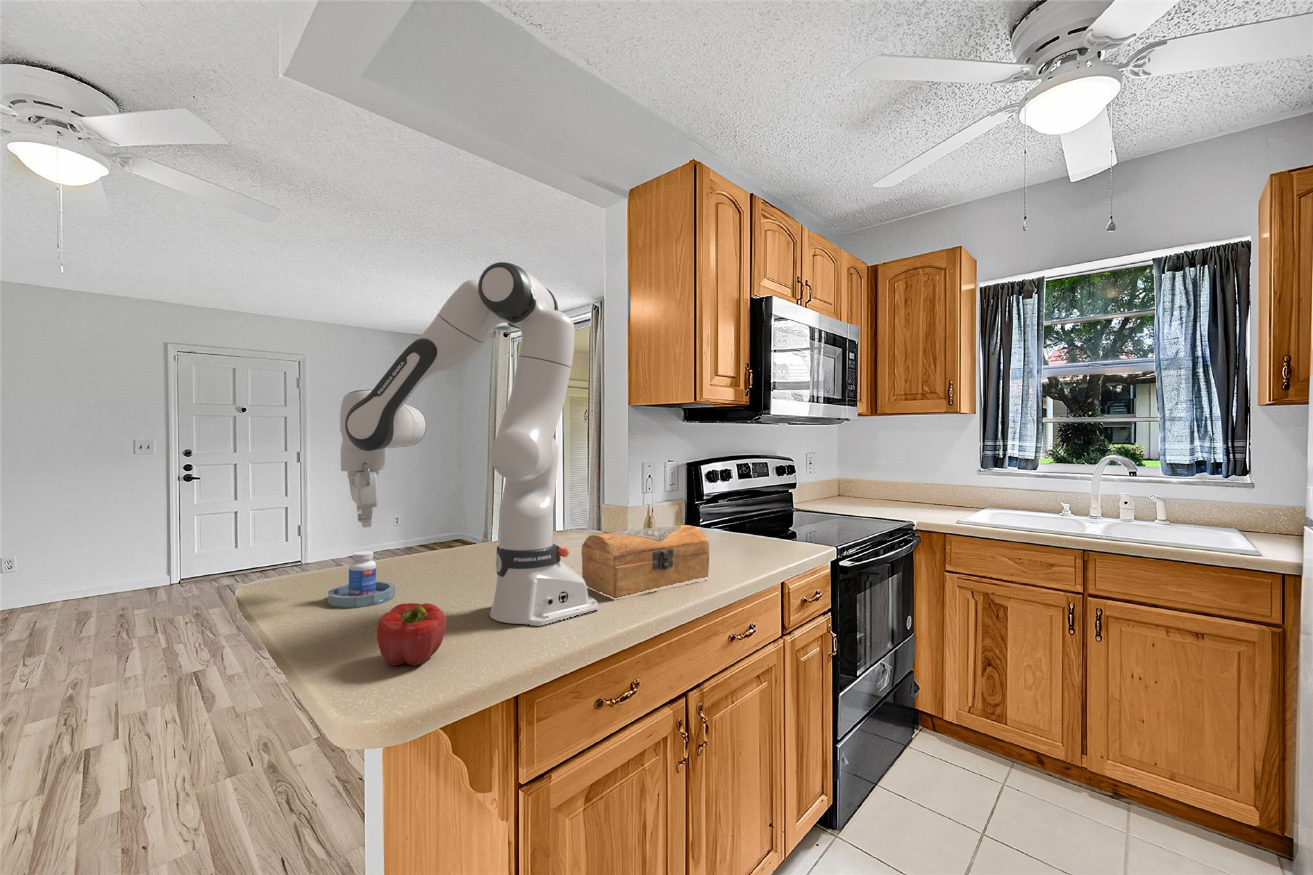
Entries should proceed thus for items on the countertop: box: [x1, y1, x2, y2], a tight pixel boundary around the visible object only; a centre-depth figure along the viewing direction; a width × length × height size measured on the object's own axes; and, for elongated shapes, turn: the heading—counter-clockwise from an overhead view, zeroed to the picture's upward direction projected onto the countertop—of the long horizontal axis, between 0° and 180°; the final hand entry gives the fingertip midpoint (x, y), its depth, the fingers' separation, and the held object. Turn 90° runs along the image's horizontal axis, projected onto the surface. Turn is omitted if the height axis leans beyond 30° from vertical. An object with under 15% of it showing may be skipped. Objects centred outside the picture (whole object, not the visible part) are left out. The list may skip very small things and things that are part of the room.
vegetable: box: [376, 602, 447, 666], centre depth 89 cm, size 11×10×10 cm
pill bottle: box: [348, 550, 377, 596], centre depth 122 cm, size 6×5×10 cm
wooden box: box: [580, 524, 710, 598], centre depth 138 cm, size 30×16×14 cm, turn 127°
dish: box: [327, 580, 396, 609], centre depth 122 cm, size 13×13×2 cm
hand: (364, 524), depth 122 cm, fingers open, 8 cm apart
